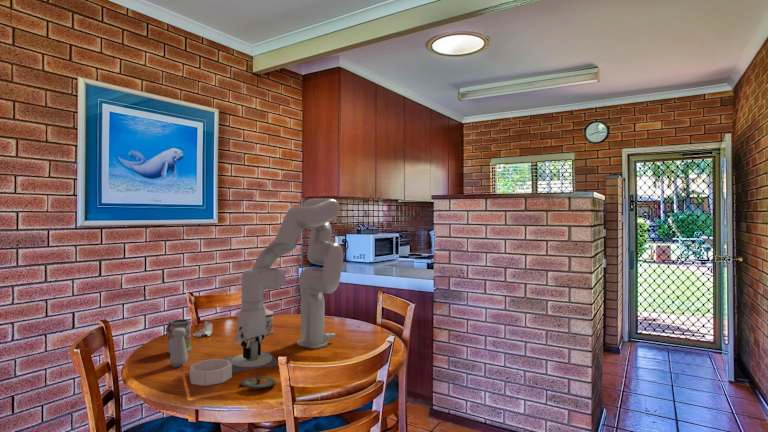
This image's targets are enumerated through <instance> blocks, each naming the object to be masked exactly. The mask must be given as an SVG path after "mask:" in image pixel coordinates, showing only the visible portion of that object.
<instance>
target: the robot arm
mask: <svg viewBox="0 0 768 432" xmlns="http://www.w3.org/2000/svg"><path fill="white" fill-rule="evenodd" d="M302 205H303V206H301V205H300V206H293V207H290V208H289V209H288V210H287V211H286V213H285V216H284V218H283V220H282V222H281V224H280V227H279V229H278V231H277V233H276V236H275V238H274V240H272V242H270V243H269V244H268V245H267V246H266V247H265V248H264V249H263V250H262V251H261V252H260V254H258V256H257V258H256V260H255V261H254V264H253V266H252V269H251V270H249V269H248V270H244V271H243V272H242V274H241V309H239V312H238V316H237V320H236V321H237V323H236V338H235V340H234V341H235V342H236V343H237V344H239V345H240V346H241V347H242V354H243V358H246V359H250V358H251V348H250V347H249V346H250V341H251V339H253V340H255V341H258V355H261V352H262V344H263V340H264V339H265V337H266V336H267V335H266V334H267V333H268V331H267V329H266V316H265V310H264V308H263V307H264V304H265V303H266V302H265V299H264V294H265V293H264V290H278V289H280V288H282V287H283V286H284V285H285V283H286V280H287V277H286V274H285V272H284V271H282V269H279V268H274V267H272V266H273V264H274V263H275V262H276V261H277V260H278V259H279V258H280V257H282V256H284V255H286V254H289V253H290V252H292V251H293V250H295V249H296V247H297V245H298V242H299V240H300V238H301V236H302V233H303V232H304V229H311V233H310V238H309V243H308V248H307V260H308V262H309V263H311V264H314V265H320V266H323V267H321V268H320V267H315V266H313V267H312V266H311V267H306V268H304V269H302V270H301V272H300V273H299V276H298V284H299V291H300V303H301V304H300V310H301V311H300V312H301V313H300V339H298V340H297V341H296V344H297V345H298V346H300V347H304V348H305V349H309V350H310V349H312V350H314V349H321V348H323V347H326V346H328V345H329V339H335V338H336V333H335V332H332V333H331V332H325V306H326V304H325V297H324V294H332V293H334V292H335V291H336V290H337V289H338V287H339V286H340V285H339V284H340V280H341V276H342V275H341V274H342V269H343V263H344V250H343V248H342V246H341V244H339V243H337V242H331V241H332V240H331V239H332V236H333V235H332V234H333V229H332V225H331V223H330V222H331V221H333V220H335V219H336V218H337V217H338V216H339V213H340V210H341V207H340V204H339V202H338V201H337V200H336V199H334V198H318V197H317V198H310V199H307V200H305V201H304V203H303V204H302Z"/></svg>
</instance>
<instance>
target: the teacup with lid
mask: <svg viewBox="0 0 768 432" xmlns="http://www.w3.org/2000/svg"><path fill="white" fill-rule="evenodd" d="M263 308H264V310H265V316H266V329H267V331H268V333H267V334H266V336H269V335H272V334H273V333H274V315H275V313H274V311H272V310H269V309H267V308H266V306H263Z"/></svg>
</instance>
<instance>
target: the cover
mask: <svg viewBox="0 0 768 432" xmlns="http://www.w3.org/2000/svg"><path fill="white" fill-rule="evenodd" d="M249 347H250V348H251V358H250V359H246V358H243V353H242V354H239V355H235V356H236V357H234V356H233V357H234V358H232V360H231V364H232V365H233V366H235V367H239V368H254V367H260V366H264V365H267V364H269V363H270V362H271V361H272V356H273V355H272V354H271V355H272V356H271V355H270V354H267V353H261V355H258V341H255V340H254V339H253V340H250V346H249Z"/></svg>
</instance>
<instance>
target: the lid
mask: <svg viewBox="0 0 768 432" xmlns="http://www.w3.org/2000/svg"><path fill="white" fill-rule="evenodd" d="M261 380H263V381H266V382H263V383H261ZM276 382H277V381H276V380H275V379H274V378H271V377H266V376H265V377H264V376H262V375H261V373H260V372H257V373H256V377H250V378H249V377H248V378H246V379H243V380H241V382H240V385H241V386H242V387H244V388H248V389H251V390H258V389H266V388H269V387H272V386H275V385H276Z"/></svg>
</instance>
